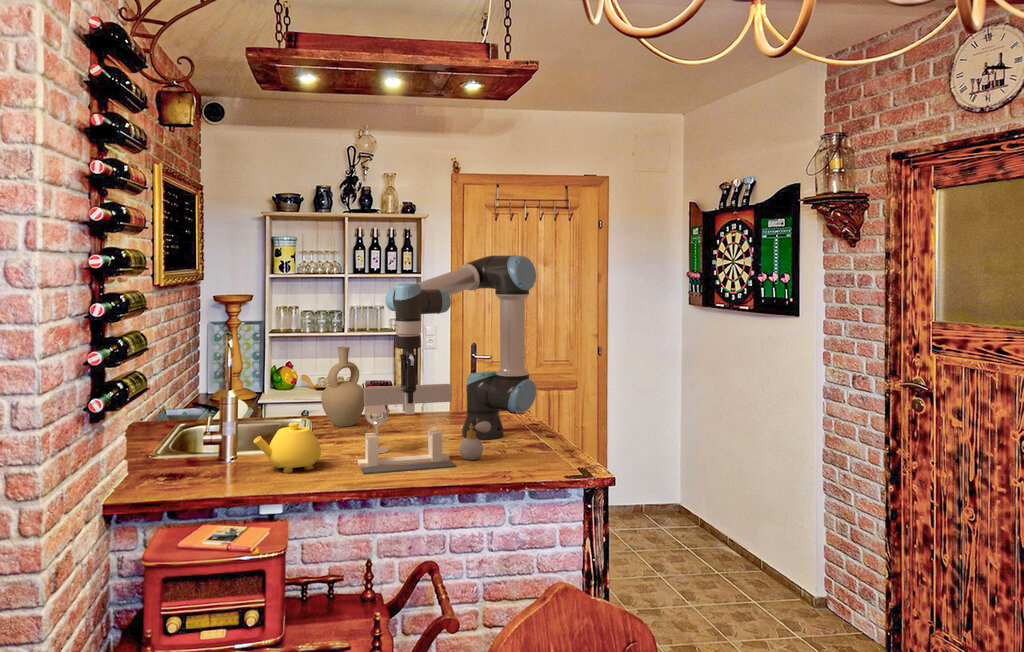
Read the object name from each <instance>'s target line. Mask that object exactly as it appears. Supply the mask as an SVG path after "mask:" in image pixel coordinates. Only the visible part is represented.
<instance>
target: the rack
mask: <svg viewBox="0 0 1024 652" xmlns="http://www.w3.org/2000/svg"><path fill="white" fill-rule="evenodd" d="M427 431H428V433H427V434H428V441H427V443H428V445H427V447H428V454H420V455H419V454H418V455H405V456H392V457H379V454H378V445H379V435H378V436H376V432H367V433H365V435H364V436H365V437H364V438H365V439H364V441H365V443H364V445H365V449H364V450H365V453H364V454H365V455H364V457H365V458H362V459H357V465H358V466H359V467H360V468H363V467H376V466H390V465H403V464H417V463H430V462H443V461H450V456H449V455H448V454H447V453H443V433H442V432H439V429H438V428H432V429H428V430H427Z"/></svg>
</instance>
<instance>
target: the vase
mask: <svg viewBox="0 0 1024 652" xmlns="http://www.w3.org/2000/svg"><path fill="white" fill-rule="evenodd" d="M350 348H351V347H349V346H338V347H337V353H338V363H336V364H335V365H333V366H332V367H331V368H330V370H329V371H328V374H327V375H328V376H327V380H328V383H329V385H328V386H326V387H325V389H323V391H322V393H321V397H320V401H321V405H322V409H323V411H324V413H325V415H326V416H327V418H328V420H329V421H330V423H331V424H333V426H335V427H338V428H347V427H348V428H349V427H351V426H355V425H356V424H357V423H358V422H359V420H360V419H361V416H362V414H363V412H364V411H365V405H364V387H362V386H361V385H360V384H358V381H359V379H360V369H359V367H358V366H357V365H356V364H355V363H354V362H351V361H349V354H350V353H349V352H350ZM346 368H347V369H349V371H350V376H349V379H348V381H344V380H342V381H338V375H339V372H340V371H342V370H343V369H346Z"/></svg>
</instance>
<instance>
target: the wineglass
mask: <svg viewBox="0 0 1024 652" xmlns="http://www.w3.org/2000/svg"><path fill="white" fill-rule="evenodd" d="M389 411H390V409H389V405H376V406H365V407H364V417H365V420H366V421H367V422H368V423H369V424H371V425H372V426H374V427H375V437H376V436H378V437H379V428H380V427H379V426H381V425H383V424H384V423H385V422H386V421H387V419H388V417H389V416H390V415H389V413H390V412H389ZM388 452H389V448H386V447H381V446H380V445H379V444H378V455H381V454H384V453H385V454H386V453H388Z"/></svg>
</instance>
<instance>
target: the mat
mask: <svg viewBox="0 0 1024 652" xmlns="http://www.w3.org/2000/svg"><path fill="white" fill-rule="evenodd" d="M448 468H449V469H452V468H457V465H456V464H455V463H454V462H453V461H452V460H445V461H438V462H432V461H431V462H418V463H404V464H391V465H378V466H371V467H368V466H364V467H360V470H361V472H362V474H363V475H373V474H386V473H400V472H411V471H424V470H436V469H437V470H438V469H448Z"/></svg>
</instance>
